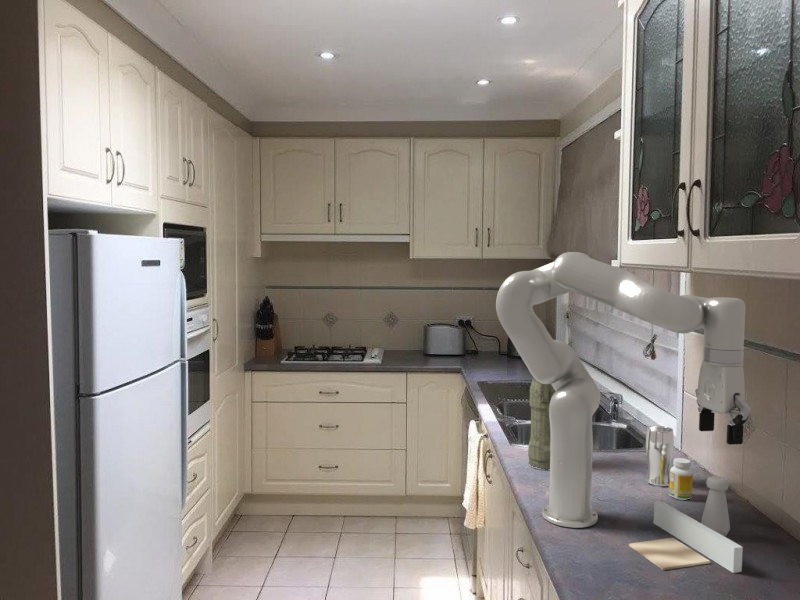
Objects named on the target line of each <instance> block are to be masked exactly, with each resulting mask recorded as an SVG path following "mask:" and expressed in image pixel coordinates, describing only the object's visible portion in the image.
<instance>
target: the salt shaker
mask: <svg viewBox="0 0 800 600" xmlns="http://www.w3.org/2000/svg"><path fill="white" fill-rule="evenodd" d="M705 484H706V487H707V488H708V489H709V491H708V493H707V496H706V497H707V498H706V502H705V506H704V508H703V513H702V517H701V520H700V523H701V524H703V525H705V526H706V527H708V528H710V529H712V530H714V531H715V532H717V533H719V534H721V535H722V536H724V537H726V538H727V535H728V534H729V532H730V530H731V523H730V522H731V521H730V517H729V510H728V509H729V508H728V502H727V495H726V491H727V490H728V489H729V481H728V480H727V479H726V478H725V477H722V476H719V475H711V476H709V477H707V479H706V483H705Z"/></svg>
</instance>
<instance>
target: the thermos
mask: <svg viewBox="0 0 800 600" xmlns="http://www.w3.org/2000/svg"><path fill="white" fill-rule="evenodd" d="M531 380H532V381H531V383H530V386H529V406H530V438H529V441H528V446H527V448H528V450H527V451H528V465H529V464H530V465H531V466H533V467H537V468H541V469H550V441H551V433H550V419H549V405H550V401H551V398H552V396H553V394H554V393H555V389H554V388H553V386H552V385H551V384H542V383H540V382H538V381H537V380H536V379H535V378H534V377H533V376H532V378H531Z"/></svg>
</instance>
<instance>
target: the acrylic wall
mask: <svg viewBox="0 0 800 600" xmlns="http://www.w3.org/2000/svg"><path fill="white" fill-rule="evenodd" d="M653 524H654V525H656V526H658V527H659V528H660V529H662V530H664V531H665V532H667V533H669V534H670V535H672V536H673V537H674V538H675V539H678V540H680V542H682V543H683V544H684V543H685V545H688V547H690V548H691V549H693V550H696V552H699V554H700V553H701V555H704V556H705V557H707V558H708V559H709V560H712V561H713V562H715V563H716V564H718V565H720V566H721V567H723V568H725V570H727V571H729V572H731V573H733V574H736V573H741V572H742V571H743V570H742V568H743V550H744V549H743V548H744V547H743V546H742V545H740V544H738V543H736V542H735V541H734V540H731V539H730V538H728V537H727V536H726V537H724V536H722V535H721V534H719V533H717V532H715V531H714V530H712V529H710V528H708V527H706V526H705V525H703V524H701V522H699V521H697V520H696V519H694V518H692V517H691V516H689V515H687V514H685V513H683V512H682V511H680V510H679V509H676V508H674V507H673V506H671V505H670V504H667V503H665V502H664V501H663V500H662V501H654V504H653Z"/></svg>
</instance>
